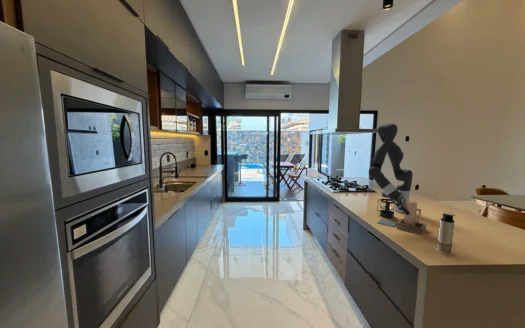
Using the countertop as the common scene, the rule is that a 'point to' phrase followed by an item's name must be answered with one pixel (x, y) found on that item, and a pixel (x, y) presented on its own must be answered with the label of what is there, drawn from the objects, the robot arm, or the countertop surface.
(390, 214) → the french press
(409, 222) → the jug
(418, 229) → the wooden tray
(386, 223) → the mat
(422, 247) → the countertop surface
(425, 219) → the countertop surface
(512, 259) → the countertop surface
